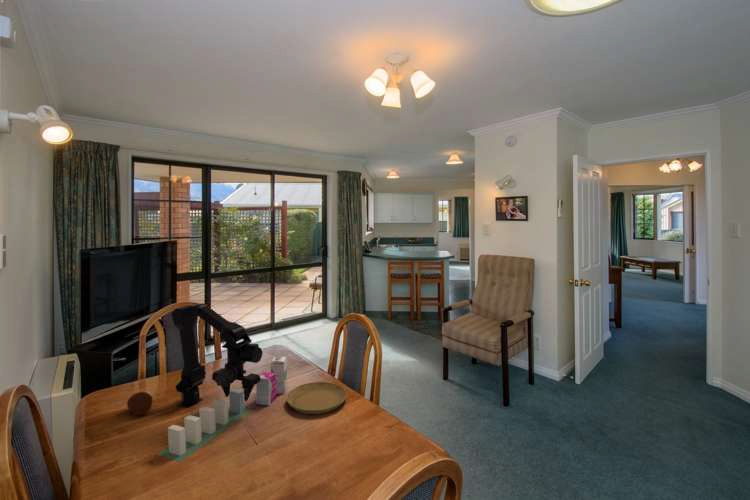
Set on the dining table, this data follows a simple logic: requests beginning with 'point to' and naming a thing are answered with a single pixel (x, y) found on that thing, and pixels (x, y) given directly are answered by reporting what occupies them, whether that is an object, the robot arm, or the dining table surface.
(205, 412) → the domino
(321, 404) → the plant saucer
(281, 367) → the syrup box
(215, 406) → the domino
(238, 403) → the slate domino
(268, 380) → the supplement box
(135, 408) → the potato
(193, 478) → the dining table surface
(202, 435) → the strip
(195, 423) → the domino
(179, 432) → the domino
